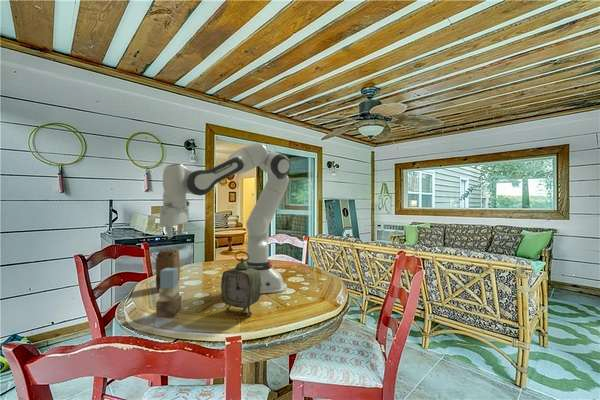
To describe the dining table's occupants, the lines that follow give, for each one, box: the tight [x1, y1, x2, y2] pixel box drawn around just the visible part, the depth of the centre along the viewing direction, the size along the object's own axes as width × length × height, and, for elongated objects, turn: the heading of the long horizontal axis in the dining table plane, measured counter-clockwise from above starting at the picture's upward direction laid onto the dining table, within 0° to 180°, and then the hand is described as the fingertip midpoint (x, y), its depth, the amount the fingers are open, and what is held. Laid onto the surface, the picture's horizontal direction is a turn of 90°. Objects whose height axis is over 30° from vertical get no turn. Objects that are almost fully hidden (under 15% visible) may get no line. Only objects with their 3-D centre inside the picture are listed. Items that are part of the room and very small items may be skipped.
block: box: [155, 248, 181, 289], centre depth 147 cm, size 11×8×20 cm
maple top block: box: [158, 284, 180, 302], centre depth 114 cm, size 6×6×5 cm
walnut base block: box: [155, 295, 182, 318], centre depth 114 cm, size 7×7×6 cm
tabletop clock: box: [220, 250, 262, 317], centre depth 116 cm, size 14×9×25 cm, turn 66°
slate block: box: [159, 268, 179, 289], centre depth 114 cm, size 5×5×7 cm
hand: (175, 235), depth 118 cm, fingers open, 8 cm apart
